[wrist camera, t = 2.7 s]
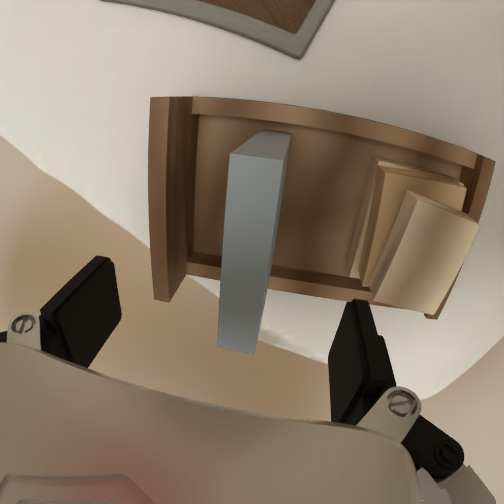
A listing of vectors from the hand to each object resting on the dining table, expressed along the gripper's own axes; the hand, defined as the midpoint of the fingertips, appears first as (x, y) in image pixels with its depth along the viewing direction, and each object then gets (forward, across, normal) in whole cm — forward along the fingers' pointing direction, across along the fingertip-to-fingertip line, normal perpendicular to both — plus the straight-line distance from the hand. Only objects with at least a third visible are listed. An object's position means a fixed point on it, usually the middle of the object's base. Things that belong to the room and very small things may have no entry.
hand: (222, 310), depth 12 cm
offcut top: (+9, -11, 0) cm, 14 cm away
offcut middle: (+11, -11, -1) cm, 15 cm away
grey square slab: (+13, -1, -1) cm, 13 cm away
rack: (+14, -5, -1) cm, 15 cm away
